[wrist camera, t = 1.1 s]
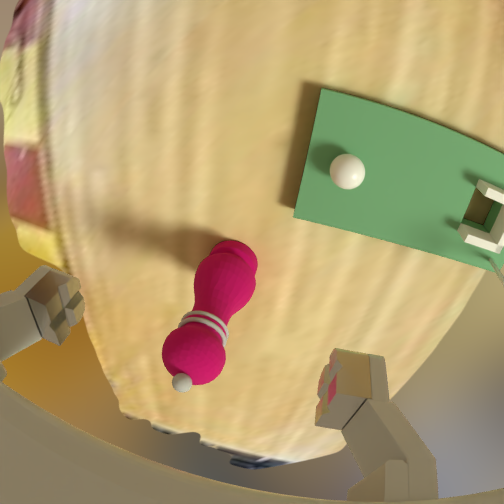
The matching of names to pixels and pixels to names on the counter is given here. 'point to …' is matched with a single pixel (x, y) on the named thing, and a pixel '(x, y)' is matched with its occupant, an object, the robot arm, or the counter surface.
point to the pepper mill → (210, 315)
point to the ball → (347, 171)
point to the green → (404, 181)
